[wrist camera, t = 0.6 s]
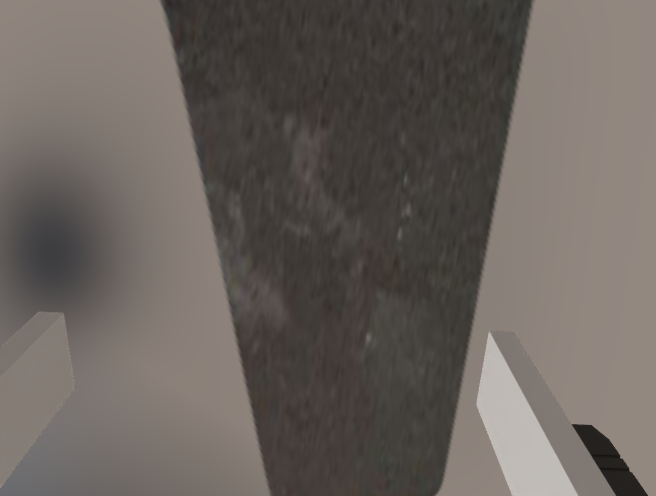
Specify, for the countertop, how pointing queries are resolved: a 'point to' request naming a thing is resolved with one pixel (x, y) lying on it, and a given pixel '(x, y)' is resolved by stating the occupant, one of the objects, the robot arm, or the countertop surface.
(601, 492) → the robot arm
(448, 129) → the countertop surface
